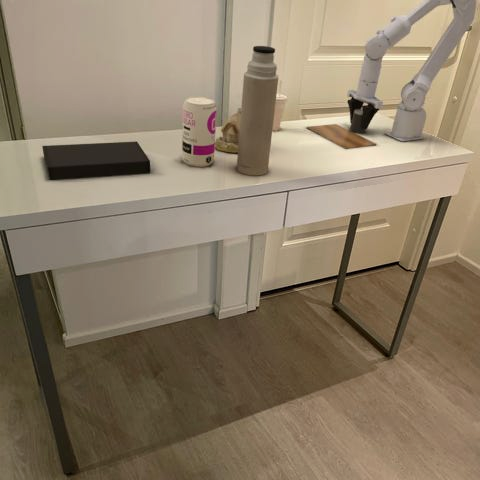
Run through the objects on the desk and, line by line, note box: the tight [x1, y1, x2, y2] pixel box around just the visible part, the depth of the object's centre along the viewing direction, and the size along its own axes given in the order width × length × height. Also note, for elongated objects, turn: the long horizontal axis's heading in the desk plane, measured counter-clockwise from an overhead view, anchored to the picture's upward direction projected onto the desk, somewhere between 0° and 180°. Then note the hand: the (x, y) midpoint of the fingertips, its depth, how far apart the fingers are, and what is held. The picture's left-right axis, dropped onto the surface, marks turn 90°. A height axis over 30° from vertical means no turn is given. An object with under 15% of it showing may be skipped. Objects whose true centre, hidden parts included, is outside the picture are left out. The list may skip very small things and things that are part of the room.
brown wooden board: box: [306, 123, 377, 150], centre depth 157 cm, size 12×20×1 cm, turn 29°
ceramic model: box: [215, 107, 241, 153], centre depth 139 cm, size 14×11×10 cm
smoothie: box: [272, 80, 288, 132], centre depth 153 cm, size 6×6×14 cm
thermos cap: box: [349, 108, 367, 134], centre depth 161 cm, size 5×5×6 cm
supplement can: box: [181, 96, 218, 168], centre depth 125 cm, size 8×8×15 cm
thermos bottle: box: [236, 45, 279, 176], centre depth 120 cm, size 8×8×28 cm
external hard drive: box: [41, 140, 151, 180], centre depth 121 cm, size 14×23×3 cm, turn 112°
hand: (358, 125), depth 162 cm, fingers closed on thermos cap, 5 cm apart
